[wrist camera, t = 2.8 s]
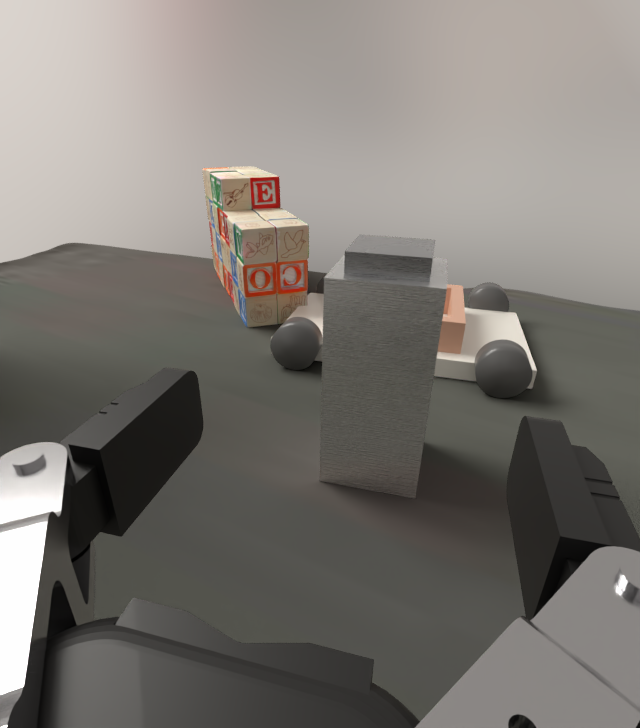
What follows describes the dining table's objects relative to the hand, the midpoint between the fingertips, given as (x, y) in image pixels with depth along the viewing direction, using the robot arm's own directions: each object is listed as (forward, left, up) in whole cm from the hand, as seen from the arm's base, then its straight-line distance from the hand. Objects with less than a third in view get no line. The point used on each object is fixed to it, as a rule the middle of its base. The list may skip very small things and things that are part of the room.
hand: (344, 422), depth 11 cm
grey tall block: (0, +11, -10) cm, 15 cm away
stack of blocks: (-18, +38, -10) cm, 43 cm away
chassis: (0, +28, -10) cm, 30 cm away
